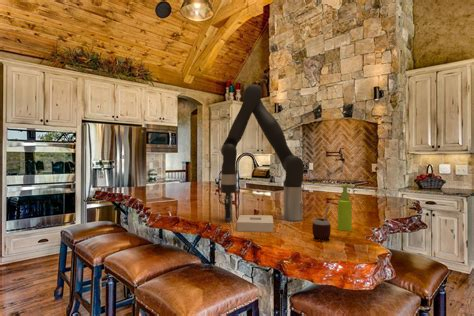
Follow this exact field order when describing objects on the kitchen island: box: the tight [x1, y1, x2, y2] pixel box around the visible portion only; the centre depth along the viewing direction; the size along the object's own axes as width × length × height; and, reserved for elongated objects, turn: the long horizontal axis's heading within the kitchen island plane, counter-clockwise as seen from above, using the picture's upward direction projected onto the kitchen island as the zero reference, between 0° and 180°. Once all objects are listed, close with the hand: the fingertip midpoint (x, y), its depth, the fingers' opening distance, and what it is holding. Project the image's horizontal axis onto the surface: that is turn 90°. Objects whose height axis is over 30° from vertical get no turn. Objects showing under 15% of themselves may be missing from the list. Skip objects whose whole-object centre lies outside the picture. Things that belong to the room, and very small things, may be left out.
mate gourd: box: [311, 201, 333, 243], centre depth 118 cm, size 8×8×15 cm
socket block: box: [236, 214, 274, 233], centre depth 137 cm, size 16×16×4 cm
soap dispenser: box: [337, 185, 355, 232], centre depth 133 cm, size 6×7×20 cm
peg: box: [224, 204, 233, 223], centre depth 149 cm, size 4×4×8 cm
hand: (228, 216), depth 149 cm, fingers closed on peg, 3 cm apart
